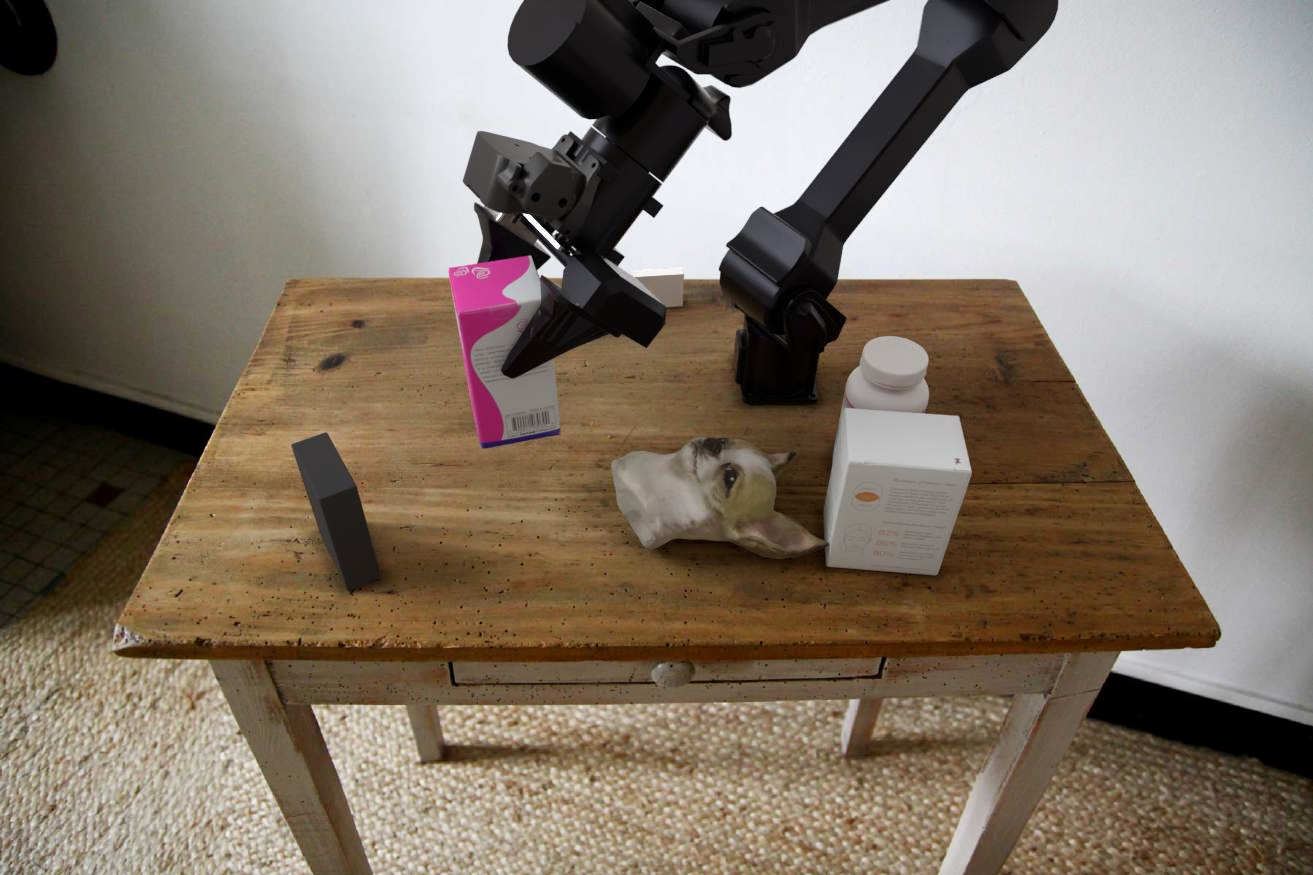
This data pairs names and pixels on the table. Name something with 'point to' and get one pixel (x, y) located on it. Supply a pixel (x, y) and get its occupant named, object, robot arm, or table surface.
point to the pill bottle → (888, 378)
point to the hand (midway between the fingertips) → (485, 348)
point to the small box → (894, 490)
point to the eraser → (663, 284)
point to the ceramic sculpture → (710, 497)
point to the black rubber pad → (337, 510)
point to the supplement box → (503, 351)
